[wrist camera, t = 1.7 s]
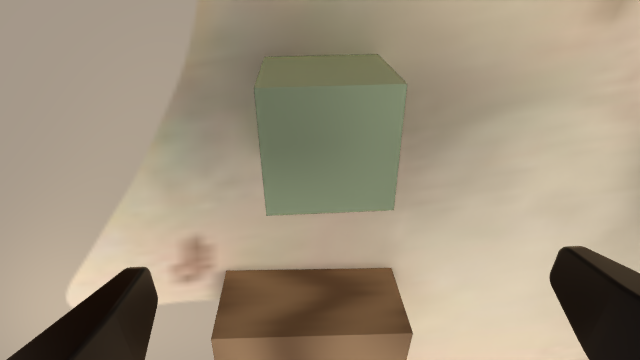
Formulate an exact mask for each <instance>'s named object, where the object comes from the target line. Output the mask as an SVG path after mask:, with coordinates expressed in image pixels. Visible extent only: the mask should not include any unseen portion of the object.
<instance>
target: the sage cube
mask: <svg viewBox="0 0 640 360" xmlns="http://www.w3.org/2000/svg"><path fill="white" fill-rule="evenodd" d="M406 91H407V83H406V82H405V81H404V80H403V79H402V78H401V77H400V76H399V75H398V74H397V73H396V72H395V71H394V70H393V69H392V68H391V67H390V66H389V65H388V64H387V63H386V62H385V61H384V60H383V59H382V58H381V57H380V56H379V55H378V54H367V55H323V56H279V57H264V60H263V63H262V66H261V69H260V71H259V74H258V77H257V80H256V83H255V86H254V94H255V104H256V114H257V125H258V135H259V145H260V155H261V165H262V175H263V185H264V195H265V205H266V215H267V216H270V215H293V214H317V213H340V212H363V211H386V210H394V203H395V194H396V184H397V175H398V166H399V156H400V147H401V137H402V128H403V119H404V109H405V100H406Z"/></svg>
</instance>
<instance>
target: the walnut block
mask: <svg viewBox="0 0 640 360" xmlns="http://www.w3.org/2000/svg"><path fill="white" fill-rule="evenodd" d="M412 334H413V333H412V330H411V327H410V323H409V320H408V317H407V314H406V311H405V308H404V305H403V302H402V299H401V296H400V293H399V290H398V287H397V284H396V281H395V278H394V275H393V272H392V269H391V268H366V269H305V270H244V271H226V275H225V279H224V284H223V288H222V293H221V297H220V302H219V306H218V311H217V315H216V320H215V324H214V329H213V333H212V338H211V341H212V347H213V353H214V360H406V359H407V355H408V351H409V347H410V343H411V338H412Z"/></svg>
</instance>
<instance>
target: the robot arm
mask: <svg viewBox="0 0 640 360" xmlns="http://www.w3.org/2000/svg"><path fill="white" fill-rule="evenodd" d="M550 283H551V286H552V288H553V290H554V292H555V294H556V296H557V298H558V300H559V302H560V304H561V306H562V308H563V310H564V312H565V314H566V316H567V318H568V320H569V322H570V324H571V326H572V328H573V331H574V333H575V335H576V337H577V339H578V340H579V342H580V344H581V346H582V348H583V350H584V352H585V353H586V355H587V357H588V358H589V360H640V273H638V272H636V271H634V270H632V269H630V268H627V267H625V266H623V265H621V264H619V263H617V262H615V261H613V260H611V259H609V258H607V257H604V256H602V255H600V254H598V253H596V252H594V251H592V250H590V249H588V248H585V247H582V246H569V247H563V248H562V249H560V250H559V252H558V255H557V257H556V260H555V262H554V265H553V267H552V270H551V272H550ZM157 303H158V297H157V292H156V289H155V286H154V282H153V279H152V276H151V273H150V271H149V269H148V268H147V267H130V268H126V269H124V270H123V271H122V272H120V273H119V274H118V275H116V276H115V277H114V278H112V279H111V280H110V281H108V282H107V283H106V284H105V285H103V286H102V287H101V288H99V289H98V290H97V291H95V292H94V293H93V294H92V295H90V296H89V297H88V298H86V299H85V300H84V301H82V302H81V303H80V304H79V305H77V306H76V307H75V308H73V309H72V310H71V311H70V312H68V313H67V314H65V315H64V316H63V317H62V318H60V319H59V320H58V321H56V322H55V323H54V324H52V325H51V326H50V327H49V328H47V329H46V330H45V331H43V332H42V333H41V334H39V335H38V336H37V337H35V338H34V339H33V340H32V341H31V342H29V343H28V344H26V345H25V346H24V347H23V348H21V349H20V350H19V351H17V352H16V353H15V354H13V355H12V356H11V357H9V358H8V359H7V360H145V356H146V352H147V347H148V343H149V339H150V334H151V330H152V326H153V321H154V317H155V313H156V309H157Z"/></svg>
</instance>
